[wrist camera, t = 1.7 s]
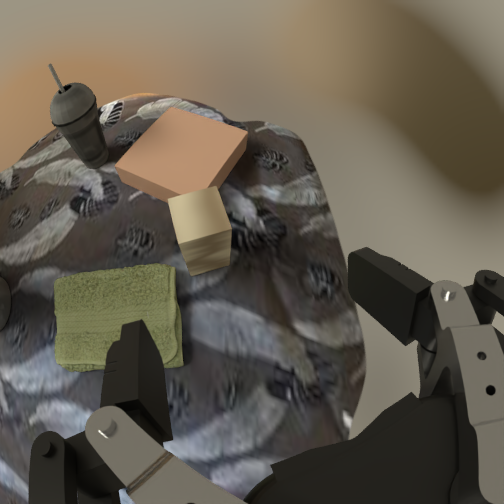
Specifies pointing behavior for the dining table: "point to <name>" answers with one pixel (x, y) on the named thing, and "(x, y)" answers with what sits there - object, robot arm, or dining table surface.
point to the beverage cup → (79, 121)
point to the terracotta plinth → (182, 155)
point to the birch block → (202, 229)
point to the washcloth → (115, 313)
